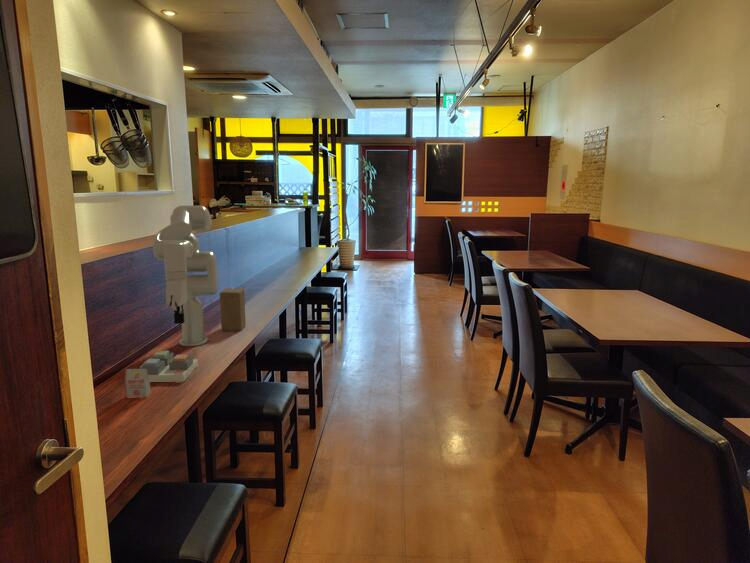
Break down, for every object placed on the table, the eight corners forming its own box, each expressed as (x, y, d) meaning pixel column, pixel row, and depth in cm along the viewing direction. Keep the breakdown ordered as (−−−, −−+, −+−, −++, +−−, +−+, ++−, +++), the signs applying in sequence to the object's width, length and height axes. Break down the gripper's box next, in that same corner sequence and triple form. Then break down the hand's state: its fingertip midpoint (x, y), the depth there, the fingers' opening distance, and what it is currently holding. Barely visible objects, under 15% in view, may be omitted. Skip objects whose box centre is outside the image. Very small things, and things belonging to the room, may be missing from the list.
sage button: (158, 356, 189) (158, 350, 189) (169, 356, 189) (169, 350, 189) (154, 360, 185) (153, 354, 185) (165, 360, 185) (164, 354, 185)
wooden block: (241, 331, 239) (239, 292, 235) (221, 331, 239) (218, 292, 235) (246, 325, 249) (244, 288, 245) (227, 325, 249) (225, 288, 245)
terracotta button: (177, 360, 185) (177, 354, 185) (188, 360, 185) (188, 354, 185) (173, 364, 181) (173, 358, 181) (184, 364, 181) (184, 358, 181)
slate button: (149, 364, 180) (148, 358, 180) (160, 364, 181) (159, 358, 180) (144, 369, 176) (143, 362, 176) (155, 368, 176) (155, 362, 176)
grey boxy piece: (130, 394, 166) (127, 367, 164) (150, 393, 167) (148, 366, 165) (126, 398, 163) (123, 371, 161) (146, 398, 163) (144, 370, 161)
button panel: (157, 366, 191) (156, 352, 190) (198, 366, 192) (197, 352, 191) (139, 382, 176) (138, 367, 175) (184, 382, 176) (182, 367, 175)
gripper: (173, 272, 185) (176, 318, 188) (158, 278, 171) (161, 328, 174) (193, 272, 186) (196, 318, 189) (179, 278, 171) (182, 328, 174)
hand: (179, 322), depth 181 cm, fingers closed
